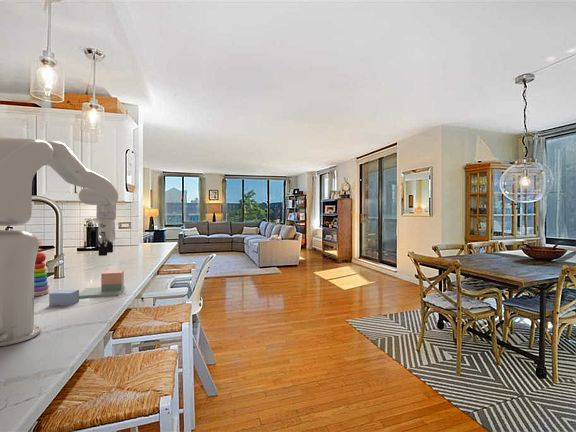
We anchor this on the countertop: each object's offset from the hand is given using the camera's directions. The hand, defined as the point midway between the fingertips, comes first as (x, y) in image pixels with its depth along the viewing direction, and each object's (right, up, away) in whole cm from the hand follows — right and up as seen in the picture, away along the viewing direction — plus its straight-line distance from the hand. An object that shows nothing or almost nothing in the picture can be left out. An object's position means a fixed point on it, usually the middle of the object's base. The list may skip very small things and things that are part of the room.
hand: (106, 254), depth 129 cm
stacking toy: (-29, -18, -3) cm, 34 cm away
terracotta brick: (+1, -14, +3) cm, 14 cm away
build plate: (-2, -18, 0) cm, 18 cm away
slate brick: (-7, -18, -15) cm, 24 cm away
